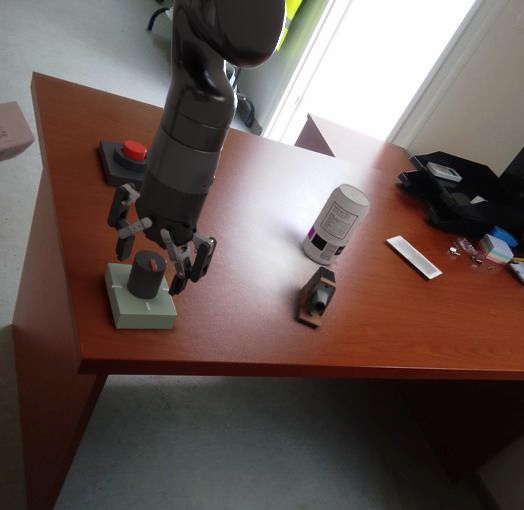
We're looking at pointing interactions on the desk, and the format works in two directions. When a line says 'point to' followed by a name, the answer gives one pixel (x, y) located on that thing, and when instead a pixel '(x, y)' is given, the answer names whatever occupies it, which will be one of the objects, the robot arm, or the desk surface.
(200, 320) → the desk surface
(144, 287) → the dial
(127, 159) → the button base
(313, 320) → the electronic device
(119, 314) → the dial panel
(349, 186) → the supplement can
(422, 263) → the white grey flat block
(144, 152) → the button
